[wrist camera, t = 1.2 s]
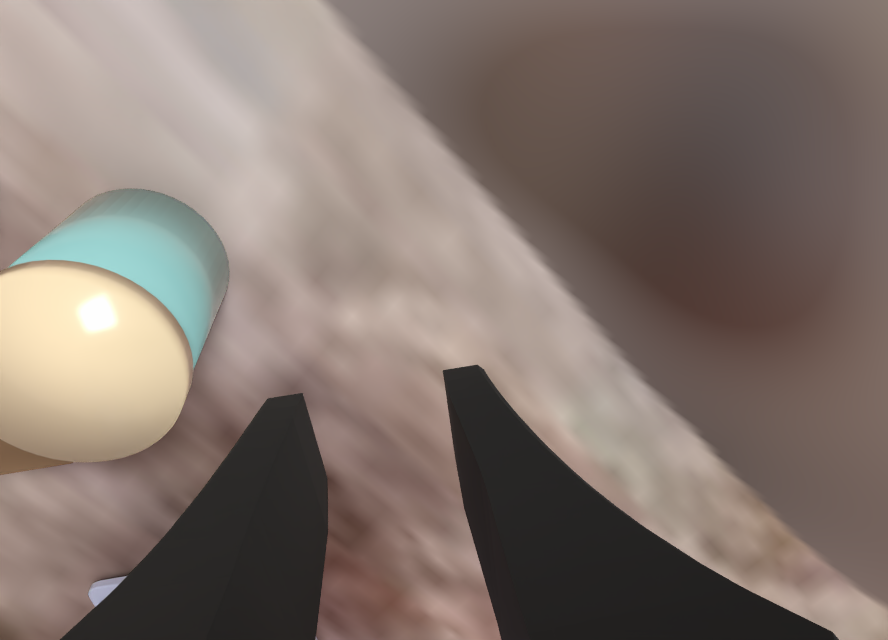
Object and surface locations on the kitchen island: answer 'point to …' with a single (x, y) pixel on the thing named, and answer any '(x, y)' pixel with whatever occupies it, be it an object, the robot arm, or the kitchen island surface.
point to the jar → (107, 326)
